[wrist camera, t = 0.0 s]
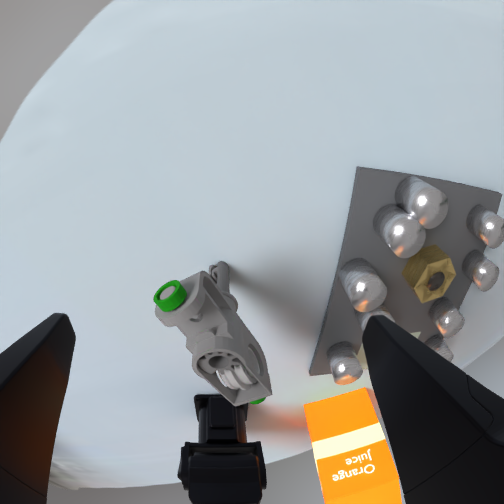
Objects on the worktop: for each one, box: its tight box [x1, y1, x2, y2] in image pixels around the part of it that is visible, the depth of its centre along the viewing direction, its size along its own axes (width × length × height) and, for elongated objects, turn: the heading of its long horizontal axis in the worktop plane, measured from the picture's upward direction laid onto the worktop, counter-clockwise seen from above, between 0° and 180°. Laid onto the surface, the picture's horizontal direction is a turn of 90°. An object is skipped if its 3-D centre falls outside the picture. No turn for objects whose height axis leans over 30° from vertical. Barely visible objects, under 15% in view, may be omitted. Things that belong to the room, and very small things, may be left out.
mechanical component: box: [153, 261, 272, 406], centre depth 20 cm, size 3×10×10 cm, turn 26°
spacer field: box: [326, 176, 504, 385], centre depth 25 cm, size 22×18×4 cm
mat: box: [309, 167, 502, 376], centre depth 27 cm, size 23×18×1 cm
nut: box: [401, 244, 456, 303], centre depth 24 cm, size 4×5×3 cm
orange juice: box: [304, 388, 402, 504], centre depth 29 cm, size 8×9×20 cm
